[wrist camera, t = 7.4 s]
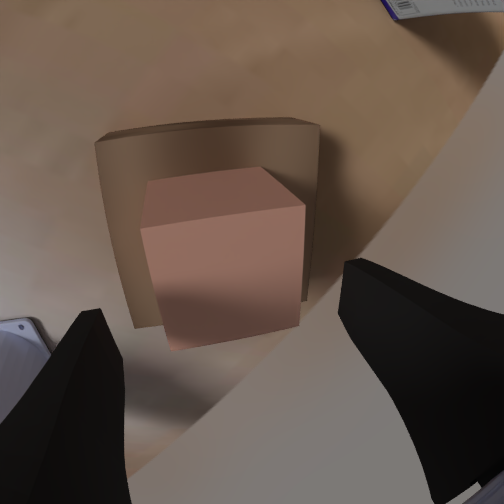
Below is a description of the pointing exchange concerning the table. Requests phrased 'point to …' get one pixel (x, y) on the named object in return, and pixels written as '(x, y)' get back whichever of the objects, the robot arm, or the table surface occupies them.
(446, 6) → the supplement box
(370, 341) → the robot arm
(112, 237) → the walnut block
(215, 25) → the table surface
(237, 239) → the terracotta cube
